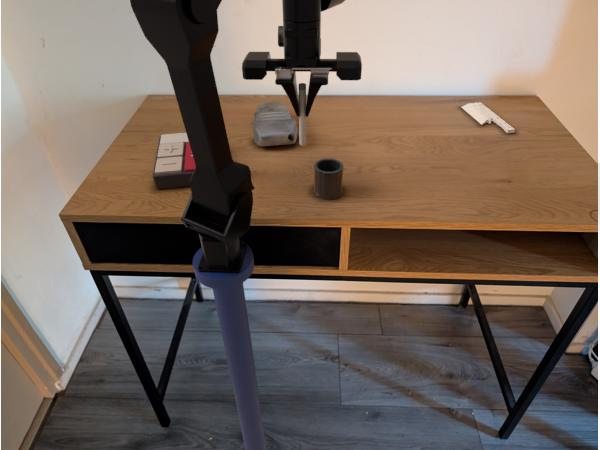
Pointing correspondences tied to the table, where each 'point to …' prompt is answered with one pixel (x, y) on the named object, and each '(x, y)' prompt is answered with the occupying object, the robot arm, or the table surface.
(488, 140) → the table surface
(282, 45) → the robot arm
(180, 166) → the calculator
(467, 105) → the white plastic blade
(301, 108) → the stylus
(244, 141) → the table surface
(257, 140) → the handheld device
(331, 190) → the pen cup
